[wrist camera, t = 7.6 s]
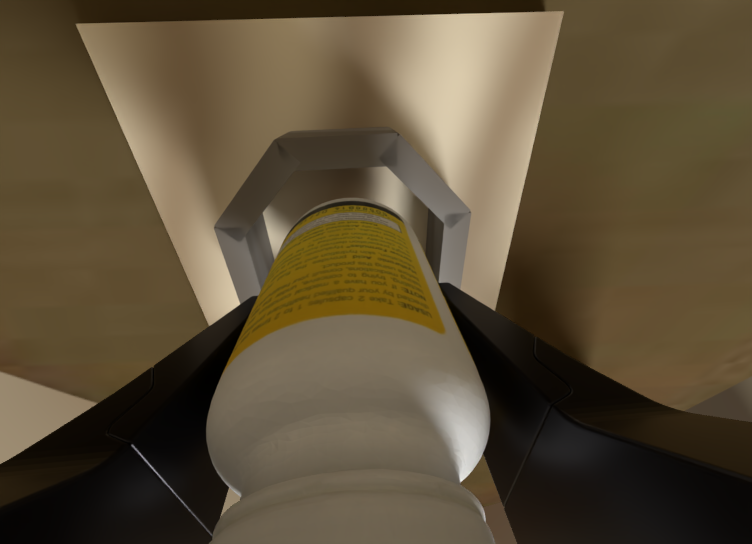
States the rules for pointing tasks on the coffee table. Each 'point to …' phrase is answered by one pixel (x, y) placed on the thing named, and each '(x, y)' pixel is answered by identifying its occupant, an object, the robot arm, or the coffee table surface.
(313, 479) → the supplement bottle
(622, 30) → the coffee table surface
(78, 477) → the robot arm
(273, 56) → the socket plate
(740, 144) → the coffee table surface
